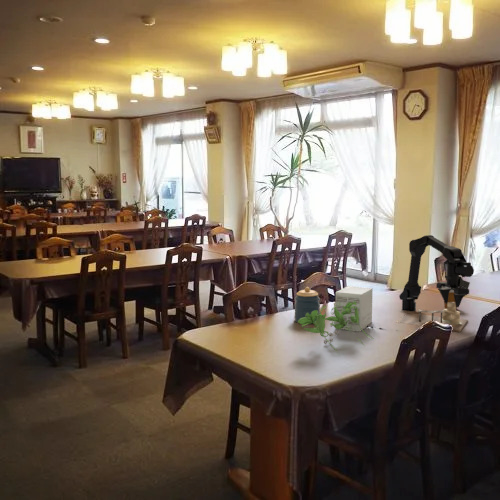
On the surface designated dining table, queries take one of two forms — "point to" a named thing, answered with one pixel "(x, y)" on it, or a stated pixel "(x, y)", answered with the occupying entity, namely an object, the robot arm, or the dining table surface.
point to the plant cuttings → (321, 320)
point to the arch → (451, 310)
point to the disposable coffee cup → (450, 298)
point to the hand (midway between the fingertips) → (451, 305)
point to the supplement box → (362, 303)
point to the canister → (306, 303)
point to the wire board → (422, 319)
